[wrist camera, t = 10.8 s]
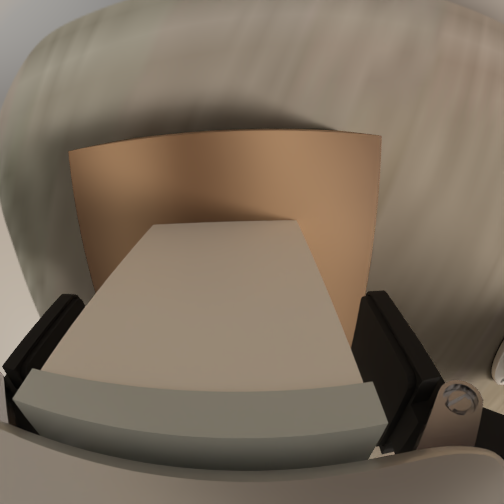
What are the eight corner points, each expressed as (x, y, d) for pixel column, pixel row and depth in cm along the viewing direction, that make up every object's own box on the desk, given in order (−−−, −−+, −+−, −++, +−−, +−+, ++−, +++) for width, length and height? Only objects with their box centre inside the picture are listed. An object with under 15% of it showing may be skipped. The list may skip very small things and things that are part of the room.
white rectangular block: (299, 217, 11) (387, 422, 3) (293, 337, 13) (322, 524, 5) (150, 222, 11) (12, 398, 3) (171, 338, 13) (122, 514, 5)
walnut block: (338, 130, 15) (381, 135, 10) (325, 315, 20) (346, 378, 15) (124, 139, 15) (68, 151, 10) (151, 318, 20) (125, 379, 15)
